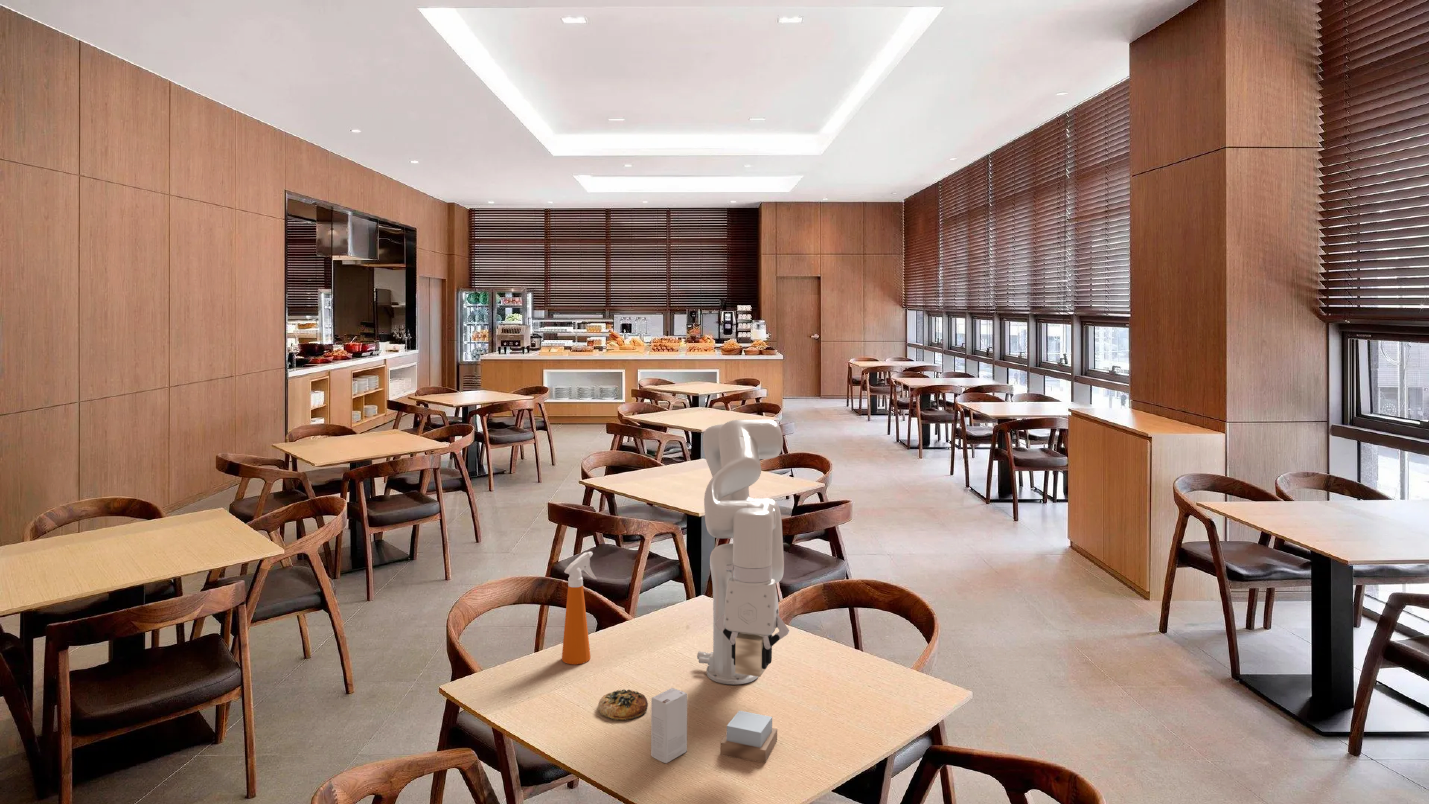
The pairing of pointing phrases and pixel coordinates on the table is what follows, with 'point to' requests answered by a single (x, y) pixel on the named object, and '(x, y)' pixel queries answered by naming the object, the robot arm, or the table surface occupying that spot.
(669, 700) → the skincare box
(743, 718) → the grey slab
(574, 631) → the spray bottle
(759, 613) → the robot arm
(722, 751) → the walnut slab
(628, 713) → the bread roll
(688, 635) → the table surface
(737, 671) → the beech block
